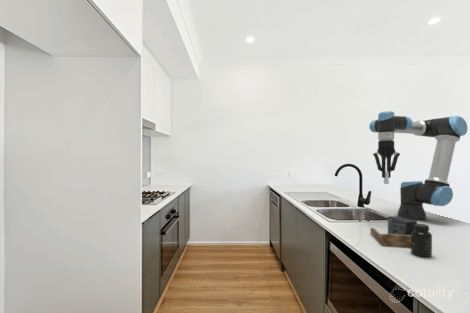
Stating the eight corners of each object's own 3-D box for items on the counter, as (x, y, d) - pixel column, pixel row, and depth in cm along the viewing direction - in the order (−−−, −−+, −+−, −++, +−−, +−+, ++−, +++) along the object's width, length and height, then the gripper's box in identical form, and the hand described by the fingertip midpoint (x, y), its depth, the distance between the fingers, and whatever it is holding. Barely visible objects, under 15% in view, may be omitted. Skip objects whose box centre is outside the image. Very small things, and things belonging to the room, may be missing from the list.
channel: (410, 236, 126) (410, 226, 126) (428, 249, 109) (428, 237, 109) (370, 233, 130) (370, 224, 130) (382, 245, 113) (382, 234, 113)
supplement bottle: (407, 252, 105) (406, 223, 105) (418, 250, 107) (418, 221, 107) (424, 259, 98) (424, 228, 98) (436, 256, 101) (436, 226, 101)
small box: (418, 244, 115) (418, 221, 115) (406, 245, 113) (406, 221, 113) (398, 237, 125) (398, 215, 125) (387, 238, 124) (387, 216, 124)
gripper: (375, 140, 137) (375, 184, 137) (402, 139, 134) (402, 184, 134) (370, 140, 144) (371, 182, 144) (396, 140, 141) (396, 183, 141)
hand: (386, 183), depth 139 cm, fingers closed
